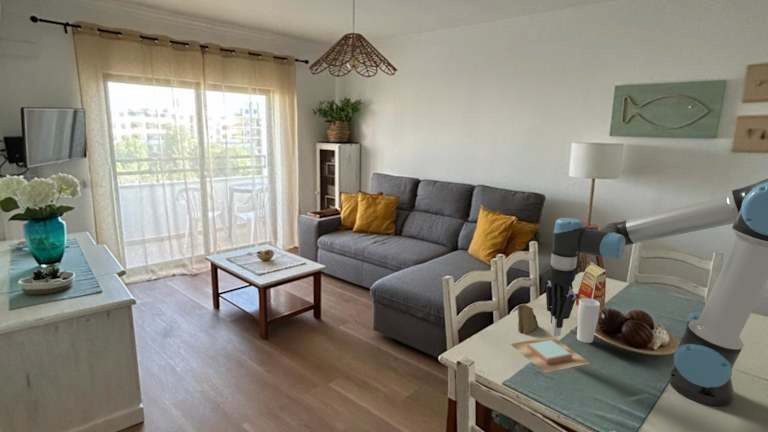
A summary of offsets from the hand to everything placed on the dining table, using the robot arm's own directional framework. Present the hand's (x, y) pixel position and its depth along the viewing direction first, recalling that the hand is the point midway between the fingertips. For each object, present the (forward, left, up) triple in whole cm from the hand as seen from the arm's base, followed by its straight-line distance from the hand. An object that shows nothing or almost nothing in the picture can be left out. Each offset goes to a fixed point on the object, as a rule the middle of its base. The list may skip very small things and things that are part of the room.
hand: (555, 334), depth 136 cm
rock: (+19, -5, -9) cm, 21 cm away
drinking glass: (+6, -19, -9) cm, 22 cm away
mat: (+2, 0, -8) cm, 9 cm away
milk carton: (+27, -42, -9) cm, 51 cm away
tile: (-3, 0, -7) cm, 8 cm away
